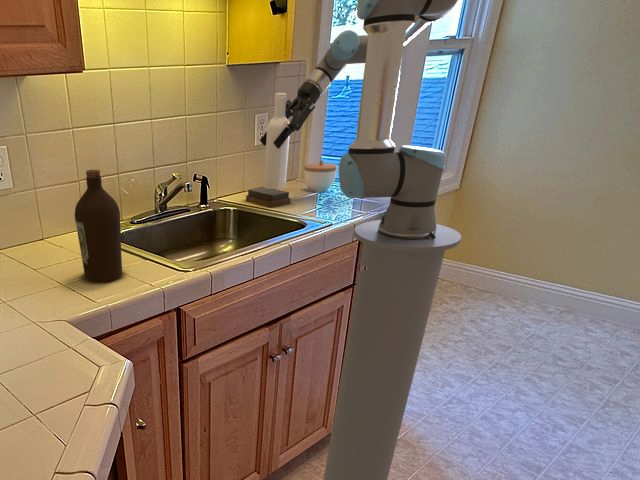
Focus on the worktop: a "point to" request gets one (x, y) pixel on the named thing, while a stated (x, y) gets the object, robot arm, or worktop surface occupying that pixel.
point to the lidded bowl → (319, 176)
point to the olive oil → (99, 231)
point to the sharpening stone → (268, 197)
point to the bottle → (275, 156)
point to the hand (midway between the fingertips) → (269, 144)
